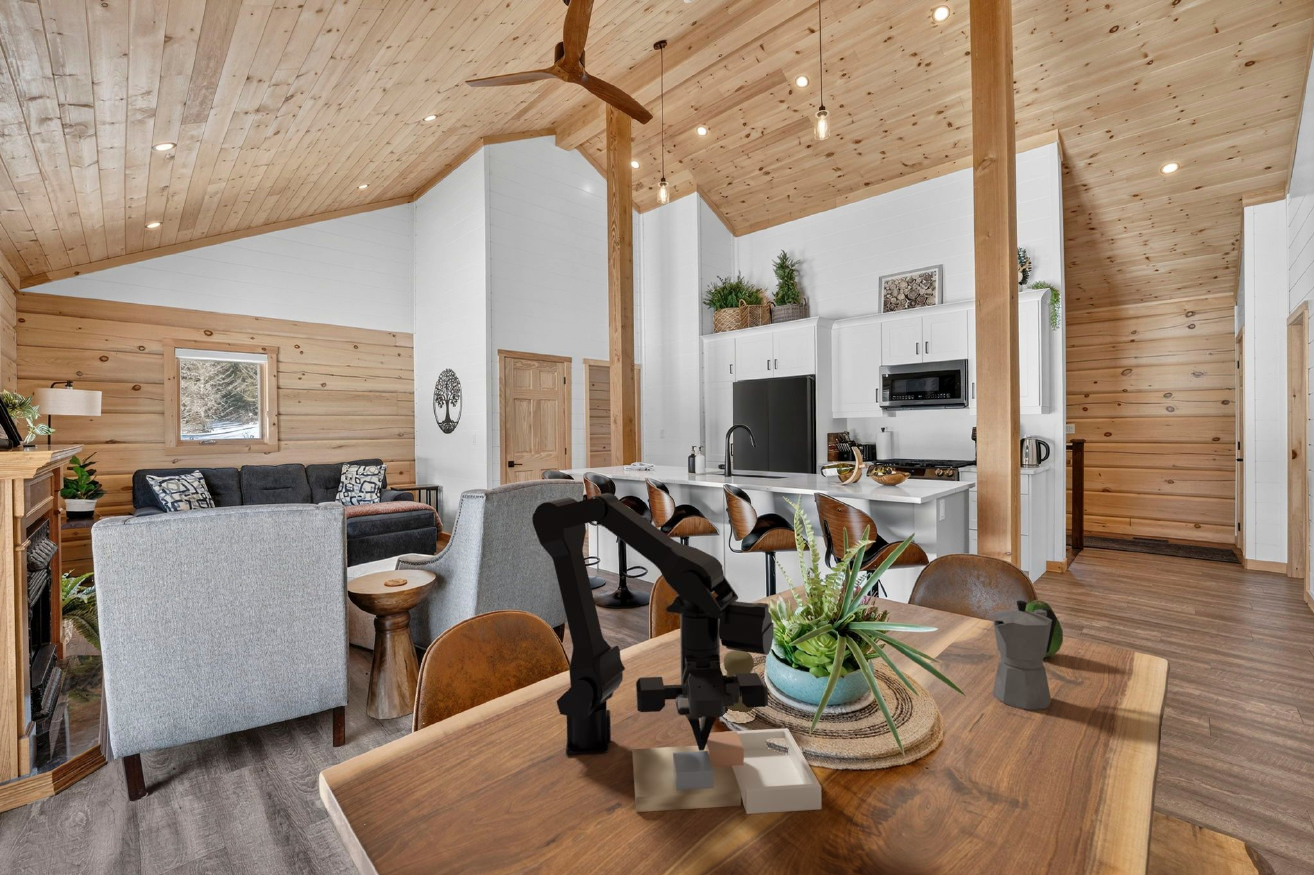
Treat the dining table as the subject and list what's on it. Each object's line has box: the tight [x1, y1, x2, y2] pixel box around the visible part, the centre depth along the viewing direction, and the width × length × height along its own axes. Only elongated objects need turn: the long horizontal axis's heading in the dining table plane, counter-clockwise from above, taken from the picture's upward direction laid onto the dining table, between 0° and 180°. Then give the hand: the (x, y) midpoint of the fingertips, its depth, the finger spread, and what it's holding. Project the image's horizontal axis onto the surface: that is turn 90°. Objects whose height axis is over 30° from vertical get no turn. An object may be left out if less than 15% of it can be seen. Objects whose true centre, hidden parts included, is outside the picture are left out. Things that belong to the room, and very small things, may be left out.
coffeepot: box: [991, 599, 1058, 711], centre depth 113 cm, size 15×9×18 cm, turn 113°
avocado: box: [1025, 599, 1064, 658], centre depth 133 cm, size 8×8×12 cm
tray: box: [727, 727, 822, 815], centre depth 90 cm, size 10×16×3 cm, turn 4°
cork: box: [723, 650, 755, 712], centre depth 109 cm, size 6×6×11 cm
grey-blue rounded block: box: [673, 751, 713, 790], centre depth 86 cm, size 5×5×2 cm
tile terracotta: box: [704, 730, 744, 767], centre depth 92 cm, size 5×5×2 cm
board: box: [632, 745, 742, 813], centre depth 89 cm, size 14×12×2 cm
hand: (701, 749), depth 91 cm, fingers closed
